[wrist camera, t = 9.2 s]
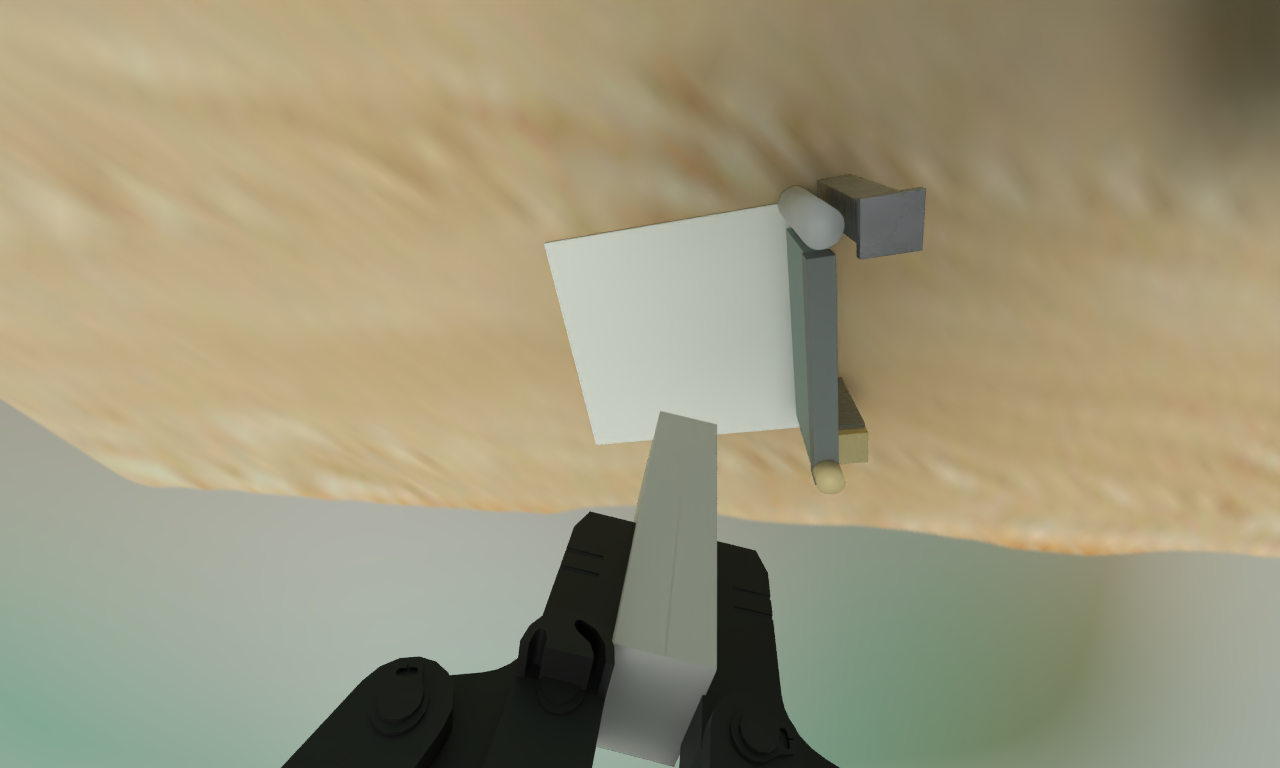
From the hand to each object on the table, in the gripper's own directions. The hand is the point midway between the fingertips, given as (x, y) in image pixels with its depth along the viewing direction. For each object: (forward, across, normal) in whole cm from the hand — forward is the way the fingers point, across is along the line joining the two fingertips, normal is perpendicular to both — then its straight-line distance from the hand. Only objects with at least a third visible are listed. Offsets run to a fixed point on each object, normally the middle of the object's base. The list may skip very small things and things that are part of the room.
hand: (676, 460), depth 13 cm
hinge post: (+25, +7, +5) cm, 26 cm away
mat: (+24, 0, -7) cm, 25 cm away
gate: (+24, +8, -2) cm, 25 cm away
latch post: (+25, +12, -8) cm, 29 cm away
